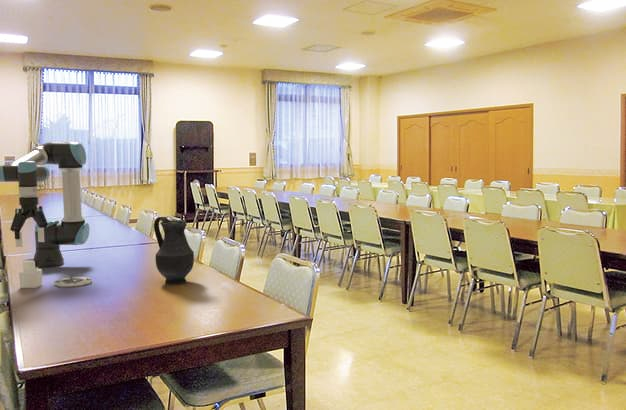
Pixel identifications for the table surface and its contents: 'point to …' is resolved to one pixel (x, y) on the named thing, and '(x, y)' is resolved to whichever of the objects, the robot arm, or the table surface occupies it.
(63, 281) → the flange
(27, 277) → the medicine bottle
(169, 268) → the pitcher
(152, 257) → the table surface
